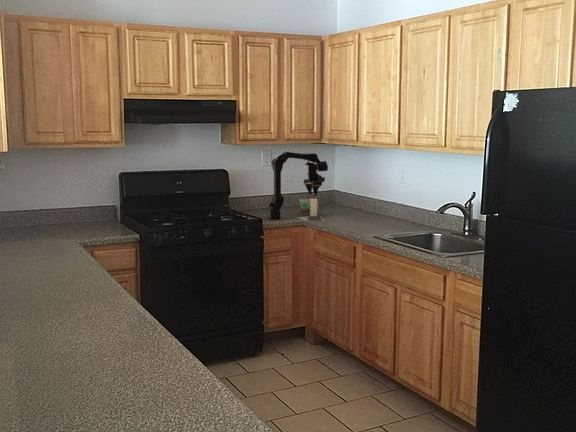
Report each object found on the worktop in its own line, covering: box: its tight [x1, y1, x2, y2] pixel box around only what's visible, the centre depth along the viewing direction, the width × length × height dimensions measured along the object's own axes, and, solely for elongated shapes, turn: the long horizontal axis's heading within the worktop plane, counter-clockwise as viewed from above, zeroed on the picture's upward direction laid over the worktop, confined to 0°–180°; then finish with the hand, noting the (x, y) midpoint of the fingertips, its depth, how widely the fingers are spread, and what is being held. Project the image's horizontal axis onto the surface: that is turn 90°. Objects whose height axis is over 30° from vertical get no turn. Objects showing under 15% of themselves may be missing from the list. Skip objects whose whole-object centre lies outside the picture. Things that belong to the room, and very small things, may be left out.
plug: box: [309, 198, 319, 216], centre depth 437 cm, size 5×5×12 cm
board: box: [296, 215, 325, 222], centre depth 433 cm, size 14×17×2 cm
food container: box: [298, 198, 311, 214], centre depth 461 cm, size 12×6×10 cm, turn 73°
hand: (312, 194), depth 444 cm, fingers open, 9 cm apart
